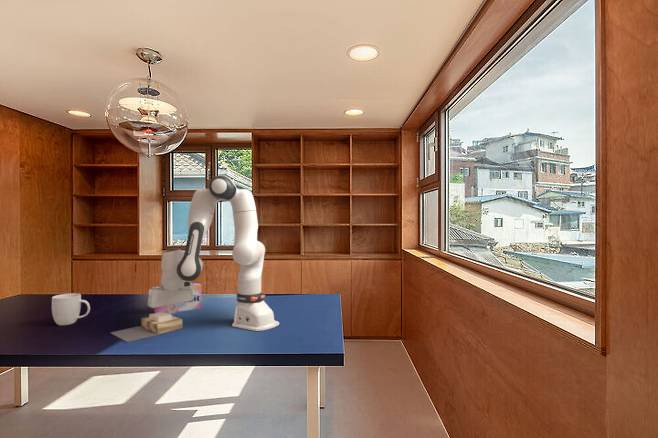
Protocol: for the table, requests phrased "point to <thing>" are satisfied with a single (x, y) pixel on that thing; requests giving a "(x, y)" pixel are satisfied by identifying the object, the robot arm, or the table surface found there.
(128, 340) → the mat
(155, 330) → the tan rectangular block
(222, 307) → the table surface
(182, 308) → the gum box
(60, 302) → the mug
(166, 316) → the cream flat block
